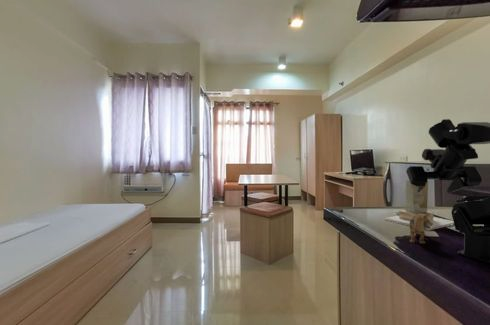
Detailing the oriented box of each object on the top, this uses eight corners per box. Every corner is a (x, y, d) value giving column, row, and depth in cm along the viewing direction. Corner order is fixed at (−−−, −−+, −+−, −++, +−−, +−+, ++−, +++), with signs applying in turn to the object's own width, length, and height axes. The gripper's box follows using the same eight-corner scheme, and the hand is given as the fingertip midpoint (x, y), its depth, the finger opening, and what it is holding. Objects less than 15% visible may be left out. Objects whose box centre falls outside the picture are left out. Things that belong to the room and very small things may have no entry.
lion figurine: (433, 248, 73) (434, 216, 72) (410, 245, 75) (411, 214, 75) (424, 233, 86) (424, 206, 86) (405, 231, 88) (405, 205, 88)
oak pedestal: (420, 223, 95) (420, 215, 95) (399, 218, 103) (399, 210, 102) (433, 220, 99) (433, 212, 99) (412, 216, 106) (412, 208, 106)
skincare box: (413, 213, 98) (414, 180, 97) (404, 211, 102) (404, 179, 102) (428, 212, 99) (428, 180, 98) (418, 210, 103) (419, 179, 103)
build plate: (428, 230, 89) (428, 228, 89) (385, 219, 104) (385, 217, 104) (457, 223, 97) (457, 221, 97) (413, 214, 111) (413, 213, 111)
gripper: (477, 139, 79) (454, 173, 90) (409, 140, 82) (395, 173, 94) (496, 167, 72) (468, 200, 83) (420, 167, 75) (404, 198, 86)
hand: (432, 191), depth 87 cm, fingers open, 9 cm apart
